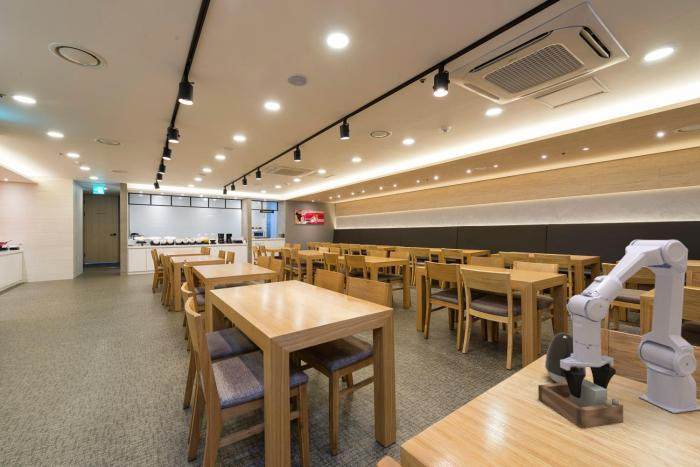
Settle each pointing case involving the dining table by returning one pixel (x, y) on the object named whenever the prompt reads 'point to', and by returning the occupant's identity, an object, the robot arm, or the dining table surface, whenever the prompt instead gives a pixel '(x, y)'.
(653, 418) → the dining table surface
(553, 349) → the dark egg-shaped dome
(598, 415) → the wooden rimmed tray
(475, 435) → the dining table surface
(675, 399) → the robot arm
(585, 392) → the grey block
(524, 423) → the dining table surface
